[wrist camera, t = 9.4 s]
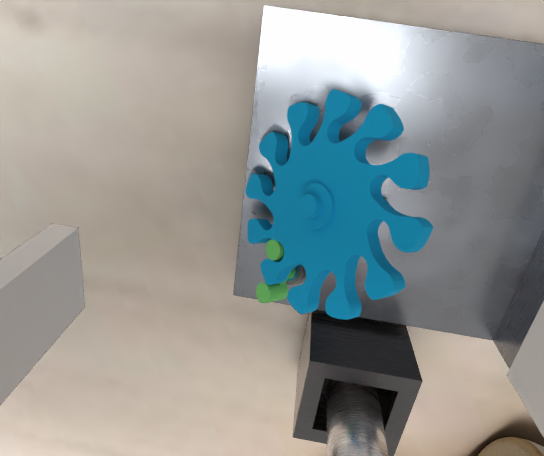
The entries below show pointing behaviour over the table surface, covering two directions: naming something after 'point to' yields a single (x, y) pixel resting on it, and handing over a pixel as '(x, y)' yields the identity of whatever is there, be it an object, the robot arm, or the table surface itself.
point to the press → (413, 194)
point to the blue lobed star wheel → (333, 207)
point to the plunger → (354, 420)
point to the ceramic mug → (512, 448)
